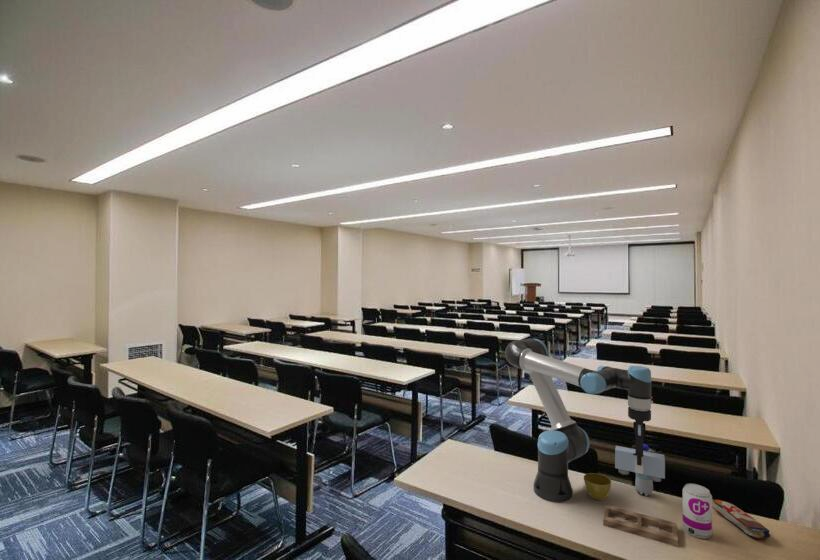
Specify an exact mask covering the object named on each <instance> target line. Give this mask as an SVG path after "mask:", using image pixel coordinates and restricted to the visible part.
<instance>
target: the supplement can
mask: <svg viewBox="0 0 820 560" xmlns="http://www.w3.org/2000/svg"><path fill="white" fill-rule="evenodd" d="M712 499H713V495H712V494H711V492H710V489H708V488H707V487H705V486H704V485H703V486H702V485H700V484H697V483H686V484H685V485H684V486H683V488H682V514H681V515H682V523H681V524H682V526H681V527H682V528H683V529H684V530H685V532H686V533H687V534H689V535H690V536H692V537H695V538H698V539H702V540H703V539H706V540H707V539H709V538H710V537H712V535H713V508H712Z"/></svg>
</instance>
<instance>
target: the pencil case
mask: <svg viewBox="0 0 820 560" xmlns="http://www.w3.org/2000/svg"><path fill="white" fill-rule="evenodd" d="M713 509H714V511H716V512H717V513H718V514H720V515H721V516H722V517H724V518H725V519H727V520H728V521H729V522H731V523H732V524H733V525H735V526H736V527H737V528H739V529H740V530H741V531H742V532H744V533H745V534H746V535H748V536H750V537H752V538H755V539H758V540H763V539H769V538H771V534H770V531H771V530H770V529H768V528H767V527H766V526H765V525H763V524H762V523H761V522H760V521H758V520H756V519H755V518H754V517H752V516H751V515H750V514H748V513H747V512H745V511H743V510H742V509H740V508H739V507H737V506H736V505H734V504H733V503H731V502H728V501H726V500H721V499H716V498H715V499H714V498H712V510H713Z"/></svg>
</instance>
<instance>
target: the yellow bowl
mask: <svg viewBox="0 0 820 560" xmlns="http://www.w3.org/2000/svg"><path fill="white" fill-rule="evenodd" d="M583 480H584V485H585V488H586V490H587V492H588V494H589V495H590V497H591V498H592V499H594V500H598V501H603V500H605V499H606V498H607V496H608V495H609V493H610V490H611V487H612V480H611V478H610V477H608V476H606V475H603V474H600V473H598V472H597V473H596V472H595V473H593V472H590V473H589V472H588V473H585V474H584V475H583Z"/></svg>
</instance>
